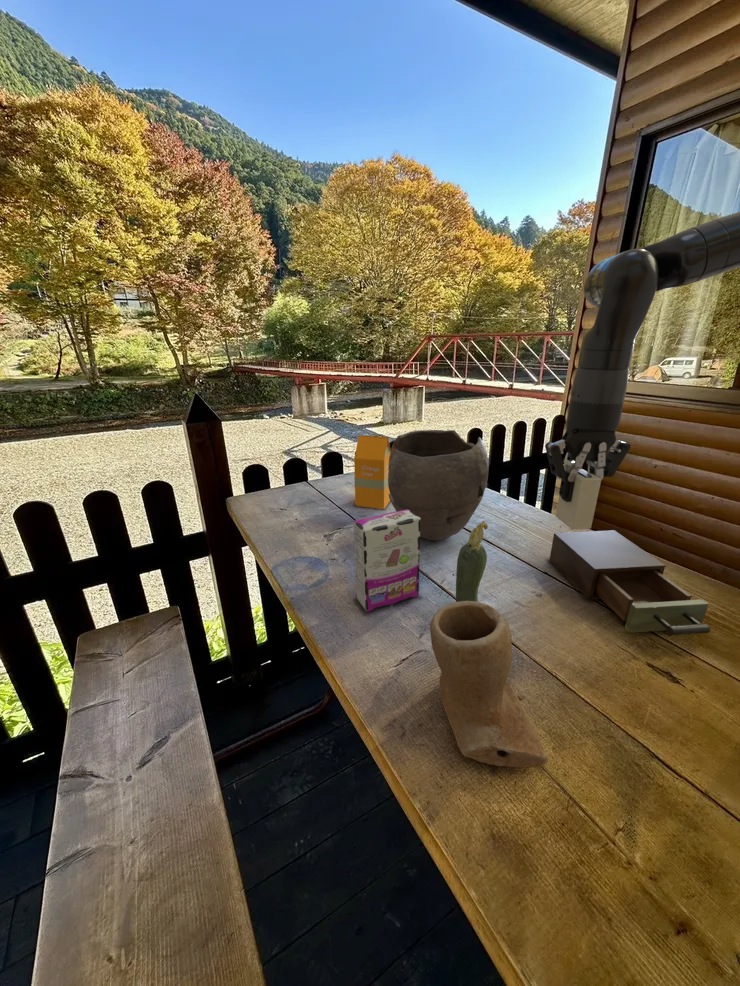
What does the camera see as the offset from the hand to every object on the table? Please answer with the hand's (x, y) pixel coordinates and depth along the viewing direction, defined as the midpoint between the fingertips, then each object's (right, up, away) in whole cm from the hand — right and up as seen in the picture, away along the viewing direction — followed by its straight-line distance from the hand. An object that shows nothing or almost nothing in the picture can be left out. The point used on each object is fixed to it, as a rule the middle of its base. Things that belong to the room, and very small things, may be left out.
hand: (577, 499), depth 70 cm
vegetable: (-20, -22, -2) cm, 30 cm away
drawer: (+12, -20, +1) cm, 23 cm away
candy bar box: (-33, -19, +7) cm, 38 cm away
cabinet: (+11, -16, +13) cm, 23 cm away
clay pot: (-21, -10, +30) cm, 38 cm away
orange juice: (-35, -2, +51) cm, 61 cm away
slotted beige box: (0, -4, +2) cm, 4 cm away
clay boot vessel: (-22, -28, -18) cm, 40 cm away
